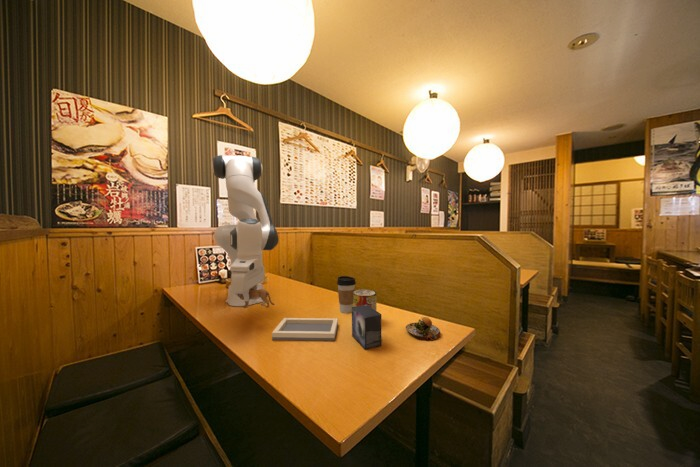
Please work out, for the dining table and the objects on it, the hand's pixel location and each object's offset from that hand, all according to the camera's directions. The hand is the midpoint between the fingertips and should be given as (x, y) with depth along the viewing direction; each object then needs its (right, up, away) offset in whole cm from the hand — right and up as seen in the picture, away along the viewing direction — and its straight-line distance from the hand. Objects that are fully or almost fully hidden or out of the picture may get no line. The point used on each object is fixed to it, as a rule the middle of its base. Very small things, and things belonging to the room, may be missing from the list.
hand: (250, 298), depth 93 cm
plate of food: (+64, -11, -6) cm, 65 cm away
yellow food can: (+44, -11, +4) cm, 45 cm away
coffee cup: (+36, -10, +17) cm, 41 cm away
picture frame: (+22, -11, -4) cm, 25 cm away
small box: (+43, -12, -11) cm, 46 cm away
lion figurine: (+1, -3, -1) cm, 4 cm away
